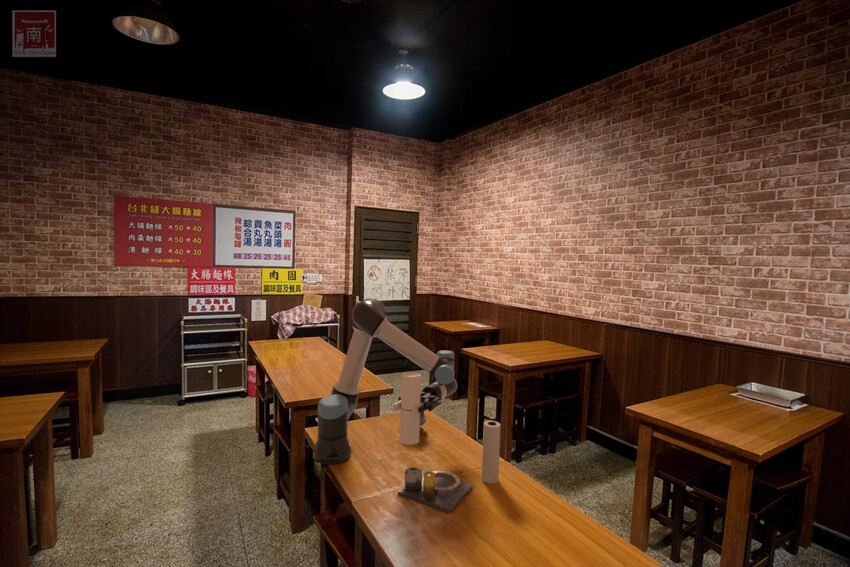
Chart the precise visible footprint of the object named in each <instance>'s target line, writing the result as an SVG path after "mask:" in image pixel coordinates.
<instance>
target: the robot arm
mask: <svg viewBox="0 0 850 567" xmlns="http://www.w3.org/2000/svg"><path fill="white" fill-rule="evenodd" d="M351 320H352V323H351V324H352V325H351V327H352V329H353V332H352V336H351V340H350V343H349V347H348V349H347V353H346V356H345V359H344V363H343V366H342V369H341V372H340V376H339V379H338V381H337V382H335V383H334V384H333V385H332V390H331V393H330V394H329V395H326V396H324V397H322V398H321V399H320V400H319V401H318V405H317V438H316V441H315V445H314V449H313V450H312V458H313V460H314V461H315V462H316V463H317V464H322V465H336V464H341V463H345V462H346V461H347V460H349V459H350V458H351V456H352V447H351V445H350V441H349V438H348V420H349V419H350V417H351V416H352V414H353V413H354V412H355V410H356V408H357V406H358V402H359V396H360V388H359V383H360V380H361V378H362V373H363V370H364V368H365V364H366V361H367V357H368V354H369V351H370V348H371V345H372V341H373V338H377V339H378V340H381V341H382V342H383V343H385V344H386V345H388V346H389V347H391V348H392V349H393V350H395V351H396V352H398V353H399V354H401V355H402V356H403V357H405V358H407V359H408V360H409V361H411V362H412V363H414V364H416V365H417V366H418V367H420V368H421V369H423V370H424V371H426V373H429V374H430V375H431V376H432V377H434V379H435V382H433V383H431V384H428V385H427V386H425V387H423V389H422V390H421V393H420V404H419V405H417V406H415V407H413V408H412V416H415V415H416V414H418V413H420V412H422V411H424V412H425V411H428V412H432V411H433V410H434V409H436V408H437V407H438V406H439V405H442V400H443V399H445V398H447V397H449V396H451V395H453V394H454V393H455V392H456V391H457V389H458V382H457V380H456V379H455V374H456V373H455V353H454V351H452V350H444V349H443V350H442V349H441V350H439V351H437V353H434V352H433V351H431V350H430V349H429V348H427V347H425V345H423V344H421V343H420V342H418V341H417V340H415V339H414V338H413V337H411V336H410V335H409V334H407V333H406V332H404V331H402V329H399V328H398V327H397V326H396V325H394V324H393V323H391V322H389V321H388V317H387V316H386V309H385V306H384V304H383V303H382V302H381V300H378V299H376V298H372V297H371V298H365V299H363V300H361V301H359V302H358V303H356V304H355V305H354V306H353V308H352V311H351ZM397 400H398V401H396V402H394V403H393V405H392V406H393V411H392V412H397V411H400V410H401V395H400V396H398V397H397ZM421 402H422V403H423V404H422V403H421Z"/></svg>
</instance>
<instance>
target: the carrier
mask: <svg viewBox="0 0 850 567" xmlns="http://www.w3.org/2000/svg"><path fill="white" fill-rule="evenodd" d="M473 489H474V484H472V483H470V482H469V483H468V482H466V481H463V480H460V477H459V476H458V475H457V474H455V473H453V472H450V471H445V470H434V471H431V470H428V469H423V470H422V469H421V468H419V467H415V466H414V467H412V466H411V467H407V468H406V469H405V471H404V485H403V486H402V487H400V489H398V490H397V496H401V497H403V498H406V499H409V500H412V501H414V502H417V503H420V504H422V505H426V506H428V507H430V508H433V509H436V510H439V511H441V512H443V513H448V514H451V513H452V512H453V511H454V510H455V509H456V508H457V506H459V504H460V503H461V502H462V501H463V500H464V499H465V497H467V495H468V494H469V493H470V492H471V491H472V490H473Z"/></svg>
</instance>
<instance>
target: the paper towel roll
mask: <svg viewBox="0 0 850 567" xmlns="http://www.w3.org/2000/svg"><path fill="white" fill-rule="evenodd" d="M482 431H483V435H482V436H483V437H482V439H483V440H482V458H481V459H482V463H481V467H482V468H481V469H482V470H481V480H482V482H484V483H486V484H488V485H490V484H492V485H495V484H497V483H498V482H499V476H500V475H499V474H500V472H499V471H500V451H501V450H500V449H501V448H500V446H501V445H500V444H501V423H500V422H499V421H496V420H490V419H486V418H484V420H483V430H482Z"/></svg>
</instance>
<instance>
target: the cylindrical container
mask: <svg viewBox="0 0 850 567" xmlns="http://www.w3.org/2000/svg"><path fill="white" fill-rule="evenodd" d="M421 383H422V374H421V373H420V372H419V371H418V372H417V371H404V372H402V373H401V382H400V384H401V385H400V391H401V392H400V396H401V409H400V427H399V429H400V430H399V441H400V443H401V444H403V445H409V446H410V445H416V444H418V443H419V442H420V434H419V429H420V427H421V426H420V413H418V414H416V415H415V416H412V408H413V407H415V406H417V405H419V404H420V393H421V392H422V390H421V389H422V386H421V385H422V384H421Z"/></svg>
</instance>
